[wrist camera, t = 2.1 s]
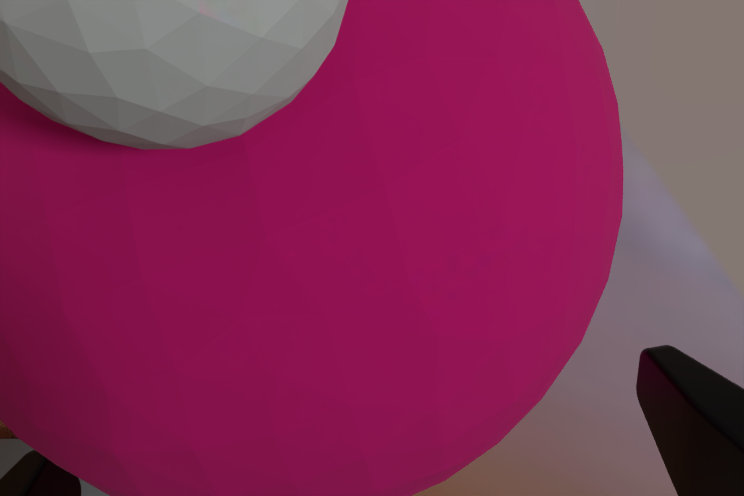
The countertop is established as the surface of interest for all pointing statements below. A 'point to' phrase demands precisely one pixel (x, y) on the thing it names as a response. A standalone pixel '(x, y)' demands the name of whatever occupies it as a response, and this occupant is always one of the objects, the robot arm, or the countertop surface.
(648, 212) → the countertop surface
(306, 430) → the pepper mill
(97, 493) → the disc
